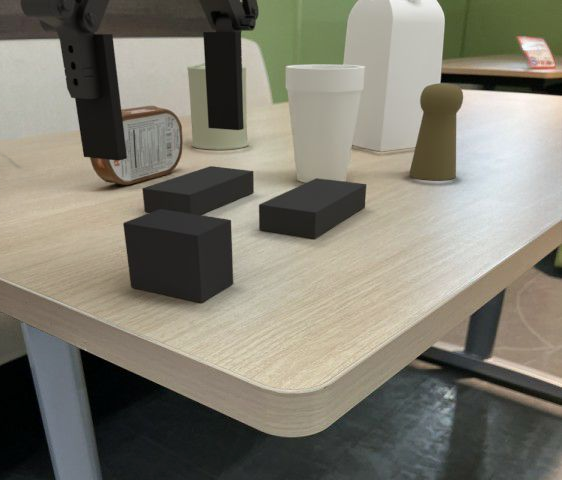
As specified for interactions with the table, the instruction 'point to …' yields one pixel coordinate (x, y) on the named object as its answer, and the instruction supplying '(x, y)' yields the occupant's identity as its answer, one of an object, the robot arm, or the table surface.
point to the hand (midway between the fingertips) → (173, 142)
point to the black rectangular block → (179, 254)
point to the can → (199, 115)
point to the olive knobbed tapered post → (437, 133)
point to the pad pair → (272, 214)
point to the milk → (393, 67)
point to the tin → (144, 146)
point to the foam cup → (323, 117)
